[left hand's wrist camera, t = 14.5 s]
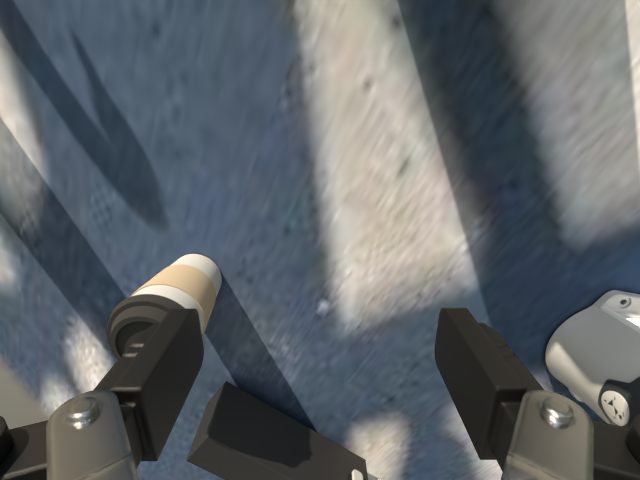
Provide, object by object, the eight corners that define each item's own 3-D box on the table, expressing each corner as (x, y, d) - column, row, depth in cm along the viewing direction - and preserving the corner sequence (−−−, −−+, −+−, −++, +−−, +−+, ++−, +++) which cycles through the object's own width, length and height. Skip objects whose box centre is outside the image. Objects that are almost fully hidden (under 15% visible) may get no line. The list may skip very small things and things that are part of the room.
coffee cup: (169, 307, 48) (107, 389, 34) (156, 247, 45) (81, 309, 31) (234, 305, 48) (198, 386, 34) (225, 245, 45) (182, 306, 31)
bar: (207, 402, 52) (185, 460, 43) (226, 380, 50) (207, 436, 42) (345, 477, 58) (349, 541, 49) (365, 459, 56) (374, 522, 48)
